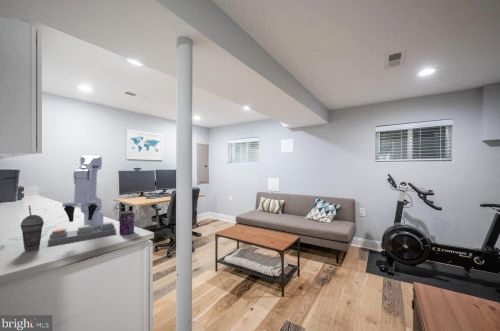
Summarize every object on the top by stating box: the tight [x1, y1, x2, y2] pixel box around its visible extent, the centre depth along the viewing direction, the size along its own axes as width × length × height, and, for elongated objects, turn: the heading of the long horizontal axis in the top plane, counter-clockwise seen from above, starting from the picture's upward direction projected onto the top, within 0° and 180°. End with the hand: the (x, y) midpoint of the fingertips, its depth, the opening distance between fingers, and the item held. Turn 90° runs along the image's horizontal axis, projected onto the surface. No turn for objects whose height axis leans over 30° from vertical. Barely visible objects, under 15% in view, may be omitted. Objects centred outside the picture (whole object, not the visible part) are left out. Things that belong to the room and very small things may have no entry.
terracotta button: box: [53, 227, 65, 234], centre depth 103 cm, size 4×4×2 cm
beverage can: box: [118, 210, 135, 235], centre depth 115 cm, size 7×7×12 cm
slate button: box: [102, 221, 113, 226], centre depth 116 cm, size 4×4×2 cm
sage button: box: [78, 224, 90, 230], centre depth 109 cm, size 4×4×2 cm
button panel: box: [47, 222, 117, 247], centre depth 109 cm, size 27×11×4 cm, turn 130°
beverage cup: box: [20, 205, 45, 253], centre depth 91 cm, size 7×7×20 cm
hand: (80, 220), depth 101 cm, fingers open, 7 cm apart
